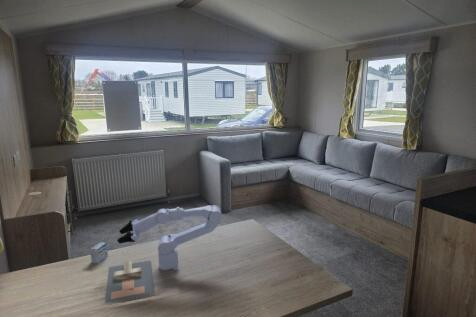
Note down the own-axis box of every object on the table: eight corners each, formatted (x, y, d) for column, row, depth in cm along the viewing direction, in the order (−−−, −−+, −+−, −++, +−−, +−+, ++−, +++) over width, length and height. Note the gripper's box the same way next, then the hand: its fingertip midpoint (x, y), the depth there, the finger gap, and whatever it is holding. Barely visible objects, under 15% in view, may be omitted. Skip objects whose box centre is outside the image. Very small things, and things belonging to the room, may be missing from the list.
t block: (140, 263, 157) (140, 259, 156) (141, 275, 146) (141, 271, 145) (115, 267, 153) (114, 263, 152) (114, 280, 142) (113, 275, 142)
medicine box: (99, 265, 157) (97, 249, 155) (91, 264, 158) (89, 248, 156) (108, 257, 165) (107, 242, 163) (100, 256, 166) (99, 241, 164)
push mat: (150, 262, 160) (150, 260, 160) (155, 295, 133) (155, 293, 133) (109, 269, 154) (109, 267, 153) (104, 305, 127) (104, 303, 126)
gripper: (142, 210, 154) (116, 222, 153) (140, 226, 141) (112, 239, 140) (149, 221, 157) (124, 232, 156) (148, 237, 144) (120, 250, 143)
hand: (119, 236), depth 148 cm, fingers open, 7 cm apart
